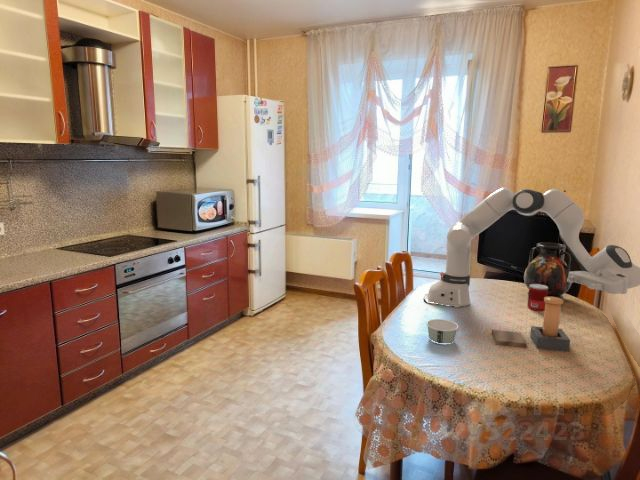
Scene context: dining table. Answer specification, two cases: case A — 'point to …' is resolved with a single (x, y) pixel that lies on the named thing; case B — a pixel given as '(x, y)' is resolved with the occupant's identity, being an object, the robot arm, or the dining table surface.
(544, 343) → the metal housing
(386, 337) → the dining table surface
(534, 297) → the canned food
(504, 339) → the walnut board
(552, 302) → the tan peg
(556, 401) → the dining table surface
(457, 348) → the dining table surface
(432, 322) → the food container
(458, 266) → the robot arm
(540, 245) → the amphora vase
